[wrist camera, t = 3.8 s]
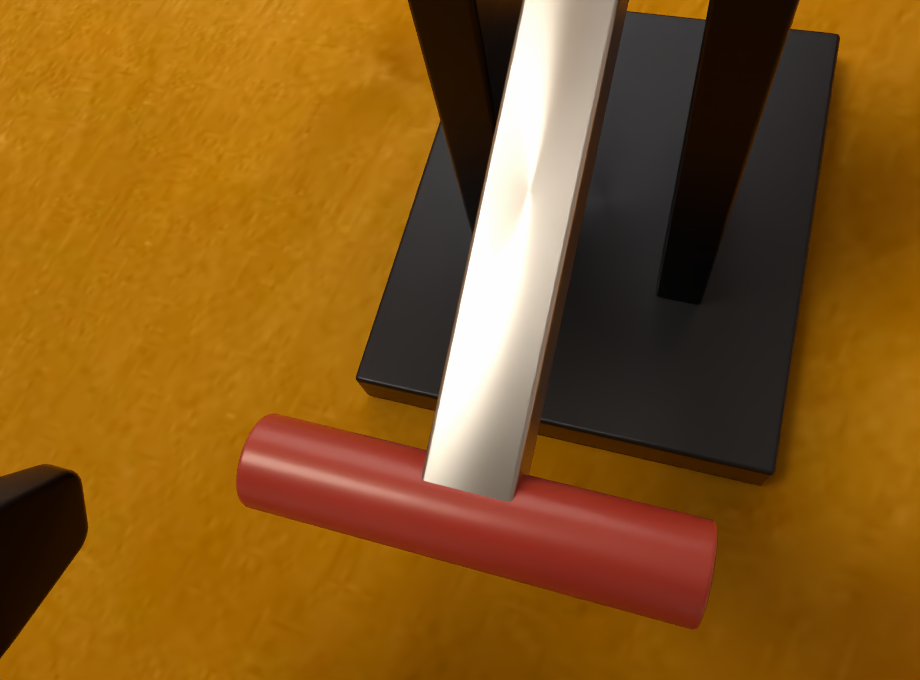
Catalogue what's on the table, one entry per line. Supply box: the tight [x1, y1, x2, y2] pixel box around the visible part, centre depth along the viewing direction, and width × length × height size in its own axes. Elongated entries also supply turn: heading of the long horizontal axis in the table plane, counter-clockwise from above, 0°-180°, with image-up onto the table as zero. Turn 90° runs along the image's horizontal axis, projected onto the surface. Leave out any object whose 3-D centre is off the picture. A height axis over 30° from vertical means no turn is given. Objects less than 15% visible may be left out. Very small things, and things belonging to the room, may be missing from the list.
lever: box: [236, 0, 718, 629], centre depth 10 cm, size 11×6×2 cm, turn 164°
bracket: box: [356, 0, 840, 485], centre depth 14 cm, size 11×9×13 cm
